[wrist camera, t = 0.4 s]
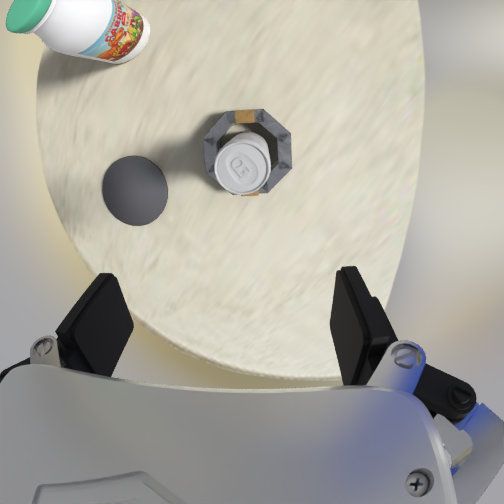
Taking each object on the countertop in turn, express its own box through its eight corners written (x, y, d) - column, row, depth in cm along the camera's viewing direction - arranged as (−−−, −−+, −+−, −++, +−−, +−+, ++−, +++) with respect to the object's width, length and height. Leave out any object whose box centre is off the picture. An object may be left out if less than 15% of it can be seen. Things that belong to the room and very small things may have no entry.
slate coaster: (99, 162, 34) (97, 163, 33) (162, 150, 33) (160, 151, 32) (112, 226, 38) (111, 228, 38) (173, 221, 38) (172, 223, 37)
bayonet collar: (204, 114, 31) (198, 114, 28) (287, 108, 30) (290, 108, 27) (212, 190, 35) (207, 198, 33) (290, 187, 35) (293, 194, 32)
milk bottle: (105, 73, 27) (-7, 68, 10) (98, 29, 24) (-5, 4, 6) (156, 51, 26) (57, 12, 9) (147, 6, 23) (60, -50, 5)
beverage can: (244, 176, 34) (236, 207, 24) (221, 146, 33) (200, 163, 22) (276, 153, 33) (283, 174, 22) (252, 123, 31) (247, 128, 21)
